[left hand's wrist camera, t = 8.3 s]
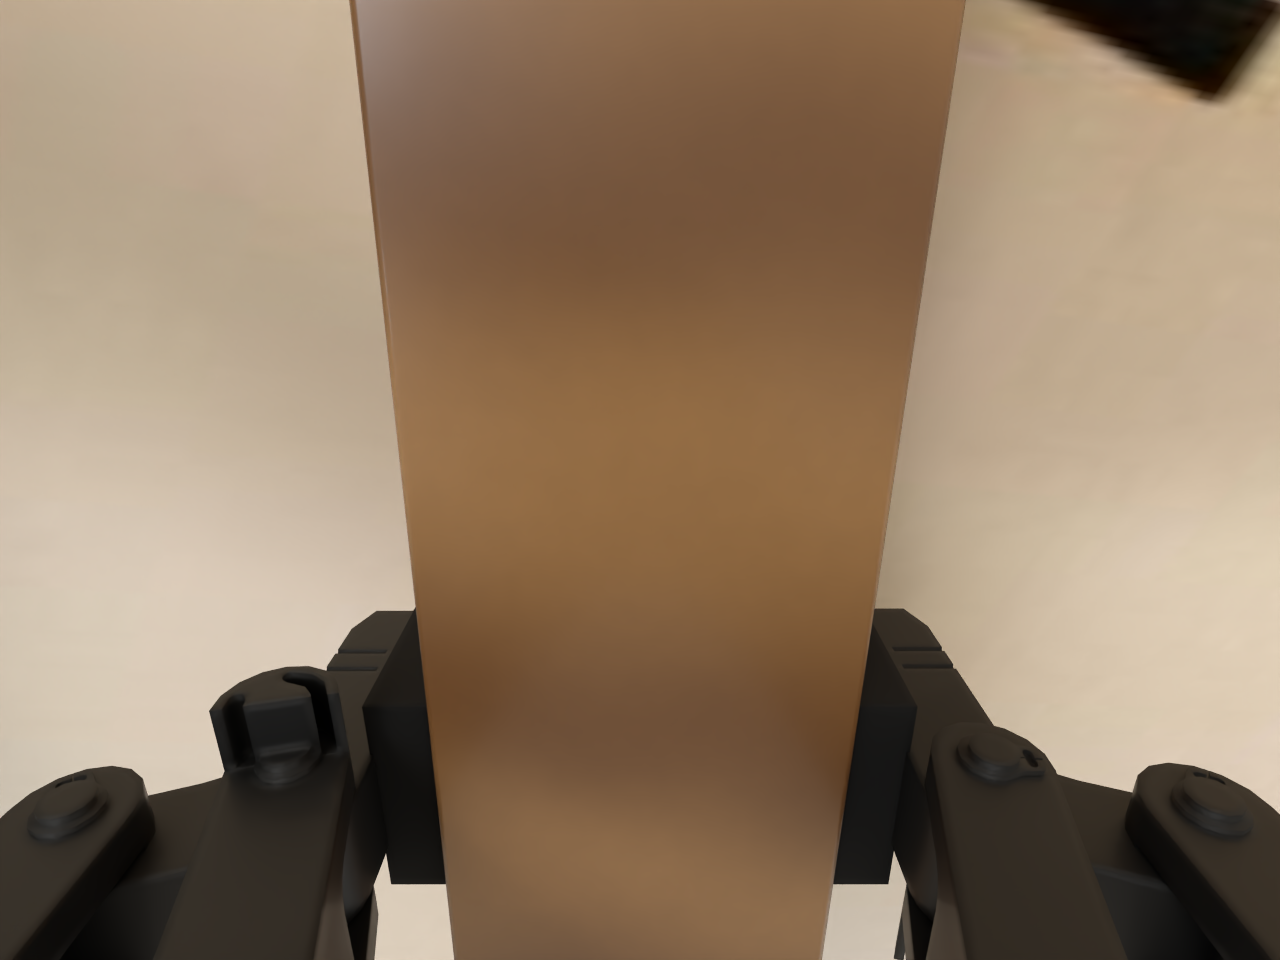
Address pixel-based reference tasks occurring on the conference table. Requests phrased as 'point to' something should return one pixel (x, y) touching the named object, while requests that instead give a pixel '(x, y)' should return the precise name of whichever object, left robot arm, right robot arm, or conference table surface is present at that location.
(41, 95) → the conference table surface
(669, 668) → the bar
